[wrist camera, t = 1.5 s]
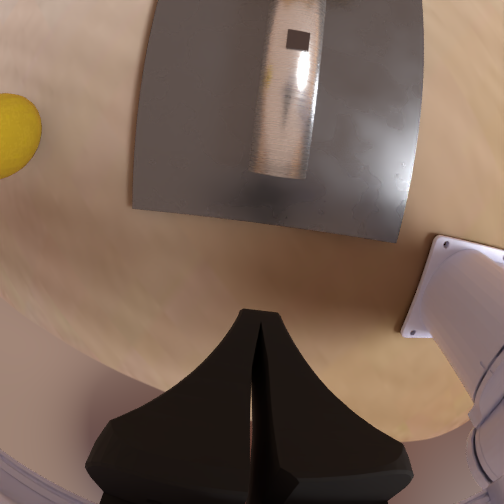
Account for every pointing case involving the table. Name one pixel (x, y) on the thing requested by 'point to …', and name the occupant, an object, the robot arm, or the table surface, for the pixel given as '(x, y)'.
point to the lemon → (17, 132)
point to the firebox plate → (244, 106)
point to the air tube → (288, 88)
